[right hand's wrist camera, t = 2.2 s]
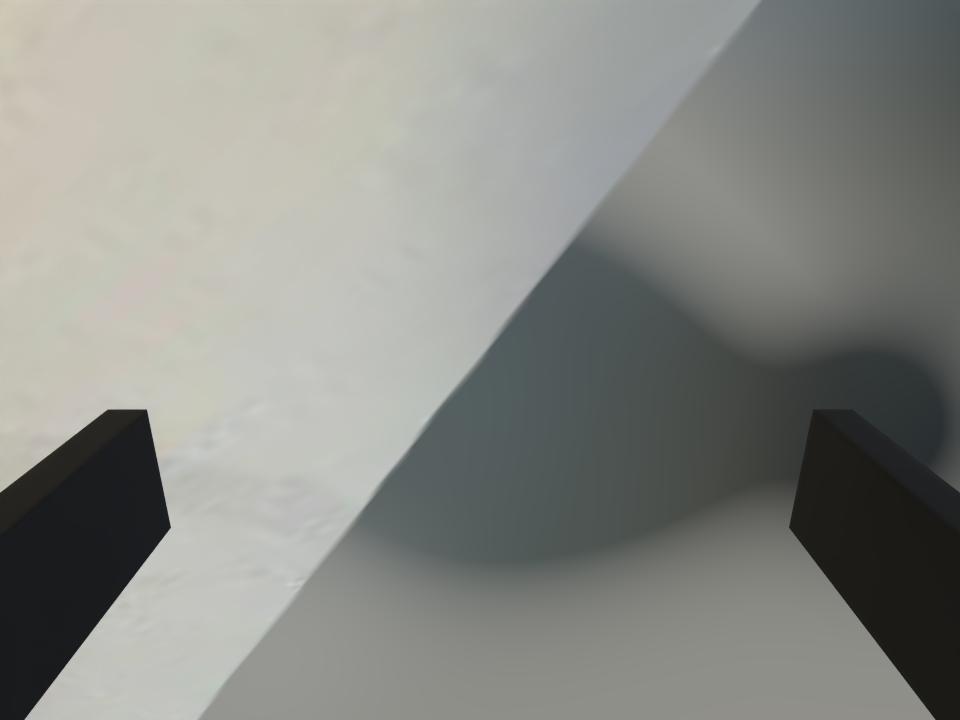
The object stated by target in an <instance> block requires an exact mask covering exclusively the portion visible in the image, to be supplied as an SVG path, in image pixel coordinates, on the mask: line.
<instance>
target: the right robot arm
mask: <svg viewBox="0 0 960 720" xmlns="http://www.w3.org/2000/svg"><path fill="white" fill-rule="evenodd" d="M170 528H171V526H170V521H169V516H168V511H167V506H166V501H165V497H164V492H163V487H162V482H161V477H160V472H159V467H158V462H157V457H156V452H155V447H154V442H153V438H152V433H151V428H150V423H149V418H148V413H147V410H107V411H105V412H104V413H103V414H102V415H100V416H99V417H98V418H96V419H95V420H94V421H92V422H91V423H90V424H89V425H87V426H86V427H85V428H83V429H82V430H81V431H80V432H78V433H77V434H76V435H74V436H73V437H72V438H70V439H69V440H68V441H67V442H65V443H64V444H63V445H61V446H60V447H59V448H58V449H56V450H55V451H54V452H52V453H51V454H50V455H48V456H47V457H46V458H45V459H43V460H42V461H41V462H39V463H38V464H37V465H36V466H34V467H33V468H32V469H30V470H29V471H28V472H26V473H25V474H24V475H23V476H21V477H20V478H19V479H17V480H16V481H15V482H14V483H12V484H11V485H10V486H8V487H7V488H6V489H4V490H3V491H2V492H1V493H0V720H25V718H26V717H27V716H28V714H29V713H30V712H31V710H32V709H33V708H34V706H35V705H36V704H37V702H38V701H39V700H40V699H41V697H42V696H43V695H44V693H45V692H46V691H47V689H48V688H49V687H50V685H51V684H52V683H53V681H54V680H55V679H56V678H57V676H58V675H59V674H60V672H61V671H62V670H63V668H64V667H65V666H66V664H67V663H68V662H69V660H70V659H71V658H72V657H73V655H74V654H75V653H76V651H77V650H78V649H79V647H80V646H81V645H82V643H83V642H84V641H85V640H86V638H87V637H88V636H89V634H90V633H91V632H92V630H93V629H94V628H95V626H96V625H97V624H98V622H99V621H100V620H101V619H102V617H103V616H104V615H105V613H106V612H107V611H108V609H109V608H110V607H111V605H112V604H113V603H114V601H115V600H116V599H117V598H118V596H119V595H120V594H121V592H122V591H123V590H124V588H125V587H126V586H127V584H128V583H129V582H130V580H131V579H132V578H133V577H134V575H135V574H136V573H137V571H138V570H139V569H140V567H141V566H142V565H143V563H144V562H145V561H146V560H147V558H148V557H149V556H150V554H151V553H152V552H153V550H154V549H155V548H156V546H157V545H158V544H159V542H160V541H161V540H162V539H163V537H164V536H165V535H166V533H167V532H168V531H169V529H170ZM789 528H790V529H791V531H792V532H793V533H794V535H795V536H796V537H797V539H798V540H799V541H800V542H801V544H802V545H803V546H804V548H805V549H806V550H807V552H808V553H809V554H810V555H811V557H812V558H813V559H814V561H815V562H816V563H817V565H818V566H819V567H820V569H821V570H822V571H823V573H824V574H825V575H826V577H827V578H828V579H829V580H830V582H831V583H832V584H833V586H834V587H835V588H836V590H837V591H838V592H839V594H840V595H841V596H842V598H843V599H844V600H845V601H846V603H847V604H848V605H849V607H850V608H851V609H852V611H853V612H854V613H855V615H856V616H857V617H858V619H859V620H860V621H861V622H862V624H863V625H864V626H865V628H866V629H867V630H868V632H869V633H870V634H871V636H872V637H873V638H874V640H875V641H876V642H877V643H878V645H879V646H880V647H881V649H882V650H883V651H884V652H885V654H886V655H887V657H888V658H889V659H890V660H891V662H892V663H893V664H894V666H895V667H896V668H897V670H898V671H899V672H900V674H901V675H902V676H903V677H904V679H905V680H906V681H907V683H908V684H909V685H910V687H911V688H912V689H913V691H914V692H915V693H916V695H917V696H918V697H919V698H920V700H921V701H922V702H923V704H924V705H925V706H926V708H927V709H928V710H929V712H930V713H931V714H932V716H933V717H934V718H935V719H936V720H960V493H959V492H958V491H957V490H956V489H954V488H953V487H952V486H950V485H949V484H948V483H946V482H945V481H944V480H943V479H941V478H940V477H939V476H937V475H936V474H935V473H934V472H932V471H931V470H930V469H928V468H927V467H926V466H924V465H923V464H922V463H921V462H919V461H918V460H917V459H915V458H914V457H913V456H912V455H910V454H909V453H907V452H906V451H905V450H904V449H902V448H901V447H900V446H899V445H897V444H896V443H895V442H893V441H892V440H891V439H890V438H888V437H887V436H886V435H884V434H883V433H882V432H880V431H879V430H878V429H877V428H875V427H874V426H873V425H871V424H870V423H869V422H867V421H866V420H865V419H864V418H862V417H861V416H860V415H858V414H857V413H856V412H855V411H853V410H813V413H812V418H811V423H810V428H809V433H808V438H807V442H806V447H805V452H804V457H803V462H802V467H801V472H800V477H799V482H798V487H797V492H796V497H795V502H794V506H793V511H792V516H791V521H790V526H789Z"/></svg>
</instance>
